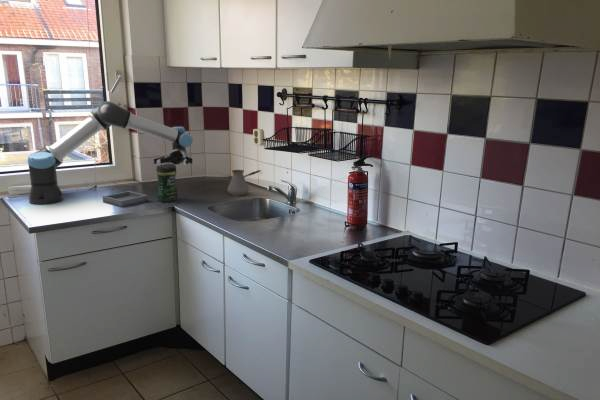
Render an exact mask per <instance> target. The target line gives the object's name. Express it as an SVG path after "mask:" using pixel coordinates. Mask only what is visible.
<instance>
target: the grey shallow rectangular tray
mask: <svg viewBox="0 0 600 400" xmlns="http://www.w3.org/2000/svg"><path fill="white" fill-rule="evenodd" d="M148 201H149V197H148V195H147V194H143V193H140V192H135V191H131V190H126V191H122V192H117V193H112V194H108V195H103V196H102V203H105V204H107V205H110V206H114V207H115V206H116V207H118V208H125V207H128V206H134V205H137V204H141V203H146V202H148Z"/></svg>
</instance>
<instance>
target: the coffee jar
mask: <svg viewBox="0 0 600 400" xmlns="http://www.w3.org/2000/svg"><path fill="white" fill-rule="evenodd" d="M156 175H157V195H156V196H157V197H156V198H157V201H159V202H160V203H162V202H165V203H167V202H174V201H177V200H178V199H179V198H178V189H177V183H176V182H177V181H176V176H177V167H176V164H173V163H163V164H160V165H158V166H157V165H156Z"/></svg>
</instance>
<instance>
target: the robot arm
mask: <svg viewBox="0 0 600 400" xmlns="http://www.w3.org/2000/svg"><path fill="white" fill-rule="evenodd" d="M111 126H113V127H117V128H122V129H124V130H126V129H131V130H134V131H136V132H140V133H143V134H146V135H149V136H152V137H155V138H158V139H161V140H163V141H166V142H168V143H169V142H170V143H171V145H172V146H171V147H172V152H171V153H170V154H169V155H168V156H165V155H162V156H160V157H156V158H154V159H153V164H154V165H156V167H157V166H158V165H162V164H174V165H179V164H182V163H183V167H186V165H188V164H193V158H192V157H189V156H188V154H187V153H188V151H187V149H186V148H188V147H191V146H192V145H193V141H194V140H193V136H192V135H191V134H189V133H187V132H186V129H185V127H184V126H172V127H170V126H167V125H164V124H161V123H158V122H156V121H153V120H150V119H148V118H145V117H142V116H139V115H136V114H134V113H132V111H130V110H129V109H125V108H123V107H122V106H120V105H118V104H117V103H115V102H113V101H110V100H105V101H102V102H100V103H98V104H97V106H96V107H95V108H94V109H92V110H91V111H90V112H89V113H88V117H87V118H85V119H84V120H83V121H82V122H80V123H79V124H78V125H76V126H75V127H74V128H72V129H71V130H70V131H68V132H67V133H66V134H64V135H63V136H62V137H61V138H59V139H58V140H56V141H55V142H54V143H53V144H51V145H45V146H44V147H42V148H41V149H39V150H37V151H35V152H32V153H30V154H29V155H28V156H27V164H28V172H29V179H30V191H29V194H28V202H29V203H30V204H32V205H49V204H54V203H58V202H62V201H63V200H64V195H63V192H62V190H61V188H60V185H59V184H58V174H57V168H58V167H59V166H61V165H62V164H63V161H64V159H65V158H66V157H67V156H68V155H70V154H71V153H72V152H74V151H75V150H76V149H78V148H79V147H80V146H82V145H83V144H84V143H85V142H87V141H88V140H89V139H91V138H92V137H93V136H94V135H96V134H97V133H98V132H99V131H106V130H107V129H109V128H110V127H111Z"/></svg>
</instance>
